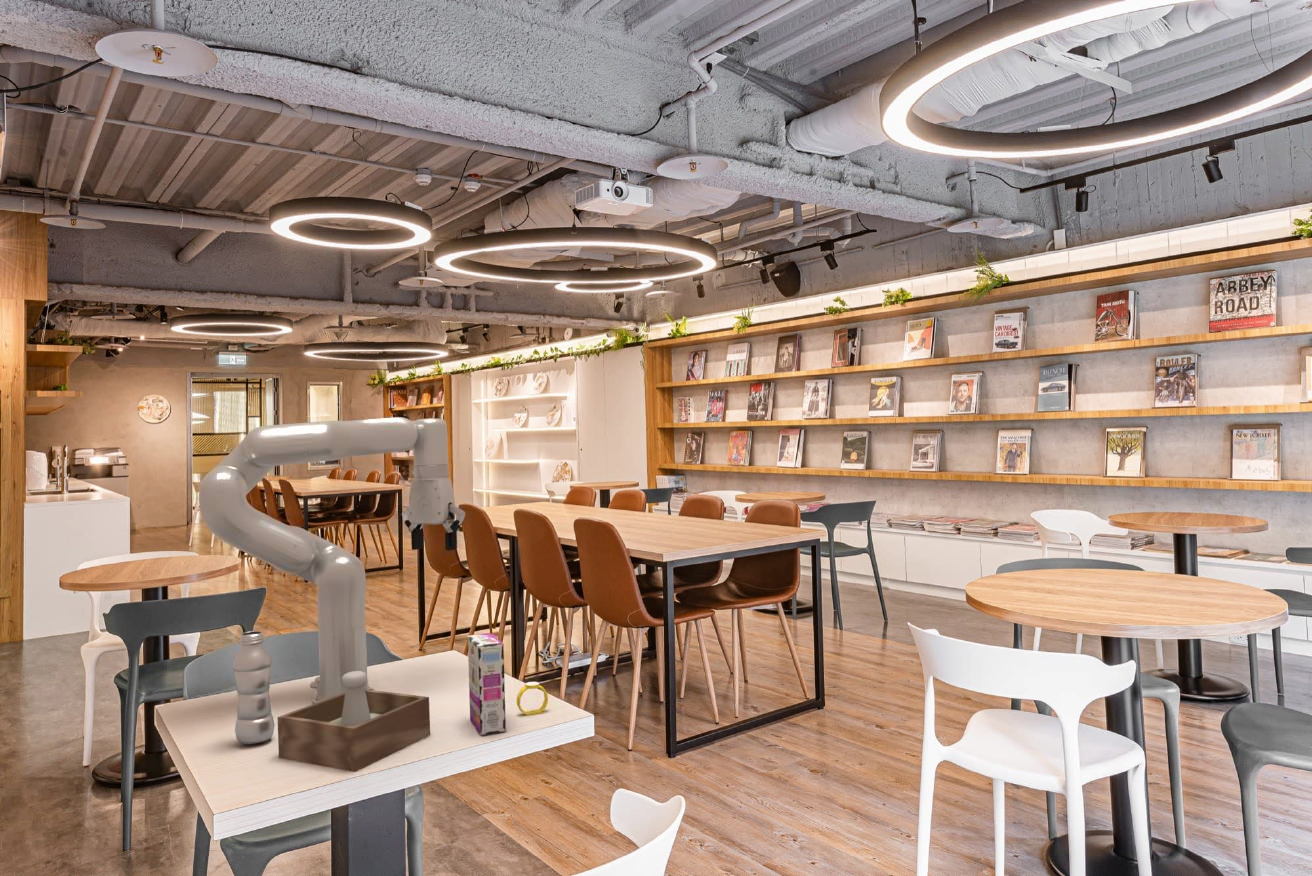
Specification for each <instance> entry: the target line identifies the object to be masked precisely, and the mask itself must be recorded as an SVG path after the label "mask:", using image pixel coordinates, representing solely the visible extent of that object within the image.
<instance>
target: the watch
mask: <svg viewBox="0 0 1312 876" xmlns="http://www.w3.org/2000/svg"><path fill="white" fill-rule="evenodd" d="M534 689H540V690H541V691H542V692H543V697H544V699H543V702H542V705H541V706H540V707H539V708H538V709H537V710H530V711H525V710H523V708H522V706H521V698H522V696H523V693H525V692H526V691H527V690H534ZM548 702H549V697H548V692H547V691H546V689H545V688H544V687H543V686H542V685H540V682H538V681H528V682H525V684H524V686H523V687H522V688H520V690H519V692H518V694H517V697H516V705H517V707H518V709H519V711H520V712H521V713H522V714H524V715H525V716H529V715H530V716H531V715H535V714H542V713H543V711H545V709H546V708H547V705H548Z"/></svg>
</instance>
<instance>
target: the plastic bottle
mask: <svg viewBox="0 0 1312 876" xmlns="http://www.w3.org/2000/svg"><path fill="white" fill-rule="evenodd" d="M239 643H240V644H239V645H240V646H241V648H240V649H239V651H238V653H237V654H236V655H235V658H234V659H233V663H232V669H233V674H234V678H235V684H236V685H235V686H236V693H237V710H236V711H237V712H236V720H235V727H234V733H235V738H236V741H238V743H240V744H243V745H255V744H260V743H263V742H266V741H268V740H270V739H271V738H272V736H273V735H274V731H275V721H274V716H273V715H274V714H273V713H272V705H271V699H270V698H271V697H270V688H271V687H270V680H271V672H272V671H271V669H272V657H271V655H270V653H269V651H268V650H267V649H266V648H265V647H264V646H263V644H262V643H264V639H263V631H262V630H261V631H260V630H255V631H254V630H252V631H247V632H243V633H242V632H241V634H240V642H239Z"/></svg>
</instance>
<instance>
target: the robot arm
mask: <svg viewBox="0 0 1312 876" xmlns="http://www.w3.org/2000/svg"><path fill="white" fill-rule="evenodd" d="M447 425H448V424H447V422H446V420H444V419H443V418H420V419H419V418H418V419H416V420H410V419H408V418H406V417H401V416H395V417H394V416H392V417H383V418H370V419H368V418H367V419H355V420H326V421H323V420H322V421H311V422H298V423H283V424H272V425H270V424H269V425H262V426H258V427H255V428H253V429H251V430H250V431H249V432H248V433H247V434H246V436H245V437H244V438H243V439H242V440H241V441H240V442H239V443H238V445H236V447H234V449H232V451H231V452H229V453H228V455H227V456H226V457H224V458H223V459H222V460H221V461H220V462H219V463H218V464H217V465H216V466H215V467H214V468H213V469H211V470H210V471H209V472H208V473H206V474H205V476H204V477H202V478H203V479H202V480H201V482H200V485H199V492H198V493H199V494H198V497H199V498H198V502H199V503H198V504H199V511H200V515H201V518H202V520H203V522H204V523H205V525H206V527H207V528H208V529H209V530H210V532H211V533H212V534H213V535H214V536H216V537H217V538H218V539H220V541H222V542H224V543H225V544H228V545H230V546H231V547H234V548H236V549H238V550H239V551H242V552H244V553H245V554H247V555H249V556H251V557H253V558H255V559H258V560H259V561H262V562H264V563H265V564H267V565H269V566H272V567H273V568H275V569H276V570H278V571H279V572H281V573H286V574H292V575H294V576H297V577H298V578H301V579H303V580H305V581H307V582H309V583H311V584H314V585H315V586H316V587H317V588H316V589H317V591H316V593H317V597H316V599H317V602H316V603H317V609H316V610H317V613H316V614H317V631H318V632H317V635H318V639H317V640H318V656H319V657H318V660H319V663H318V664H319V676H317V677H316V678H315V679H314V681H311V682H310V684H309V687H310V689H316V691H317V693H316V695H315V696H314V697H313V698H312V704H315V703H317V702H320V701H323V700H325V699H328V698H331V697H334V696H336V695H339V694H342V693H345V691H346V688H344V687H343V686H342V677H343V676H344V674H346V673H349V672H353V671H362V672H365V673H366V674H367V675H368V659H367V657H368V654H367V653H368V652H367V651H368V649H367V628H366V623H367V622H366V587H367V583H366V582H367V581H366V580H367V579H366V577H367V576H366V570H365V567H364V564H363V563H362V561H361V559H360V558H359V557H357V556H356V555H355V554H354V553H352V552H351V551H349V550H347V549H345V548H343V547H341V546H339V545H337V544H334V543H333V542H330V541H328V540H327V539H325V538H323V537H320V536H318V535H316V534H314V533H313V532H310V531H308V530H306V529H304V528H302V527H300V526H296V525H288V524H286V523H283V522H281V521H279V520H277V519H276V518H273V517H271V516H270V515H268V514H266V513H264V512H262V511H259V510H258V509H257V508H254V507H253V506H252V505H251V504H250V503H249V502H248V500H247V495H248V494H249V493H250V492H251V491H252V490H253V488H255V487H256V486H257V485H258V483H260V482H261V481H262V480H263V479H264V477H266V476H267V474H269V473H270V472H271V470H272V469H274V467H278V466H279V467H280V466H287V465H288V466H290V465H297V464H298V465H299V464H308V463H318V462H319V463H320V462H321V463H322V462H330V461H339V460H343V459H344V460H345V459H348V458H352V457H353V458H354V457H361V456H371V455H379V454H382V455H383V454H391V453H403V452H406V451H411V450H412V452H413V468H412V470H411V474H412V476H414V480H413V479H412V480H411V483H410V487H409V495H408V508H407V509H405V510H403V512H402V513H401V516H402V519H403V521H404V525H405V526H406V527H407V529H408V532H409V533H410V542H411V550H412V551H416V550H422V549H424V532H423V530H421V529H422V528H423V526H424V525H441V524H442V526H443V528H444V529H445V530H446V531H447V532H444V533H445V534H444V543H445V544H444V545H445V546H444V547H445V550H446V551H454V550H458V535H457V534H458V532H459V531H460V528H461V526H462V525H463V523H464V519H465V517H466V511H464V510H462V508H459V507H458V506H456V502H455V500H456V499H455V493H454V488H453V484H452V483H453V482H452V479H451V478H450V477H449V475H450V473H449V471H450V470H449V450H448V448H449V446H448V441H449V440H448V426H447ZM368 679H369V678H368V677H367V683H366V685H364V688H365V689H367V690H376V689H375V688H373V687H371V686H368V685H369V683H368V681H369V680H368Z"/></svg>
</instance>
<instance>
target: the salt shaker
mask: <svg viewBox="0 0 1312 876" xmlns="http://www.w3.org/2000/svg"><path fill="white" fill-rule="evenodd" d="M367 678H368V673H367V674H366V673H365V672H362V671H353V672H349V673H346V674H344V676H343V677H342V686H343V687H344V688H346V691H345V698H344V705H343V712H342V718H341V724H344V725H351V726H356V725H358V724H360V723H363V722H365V721H368V720H370V719H371V716H370V711H369V707H368V702H367V697H366V693H365V688H364V685H366V683H367Z"/></svg>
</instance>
